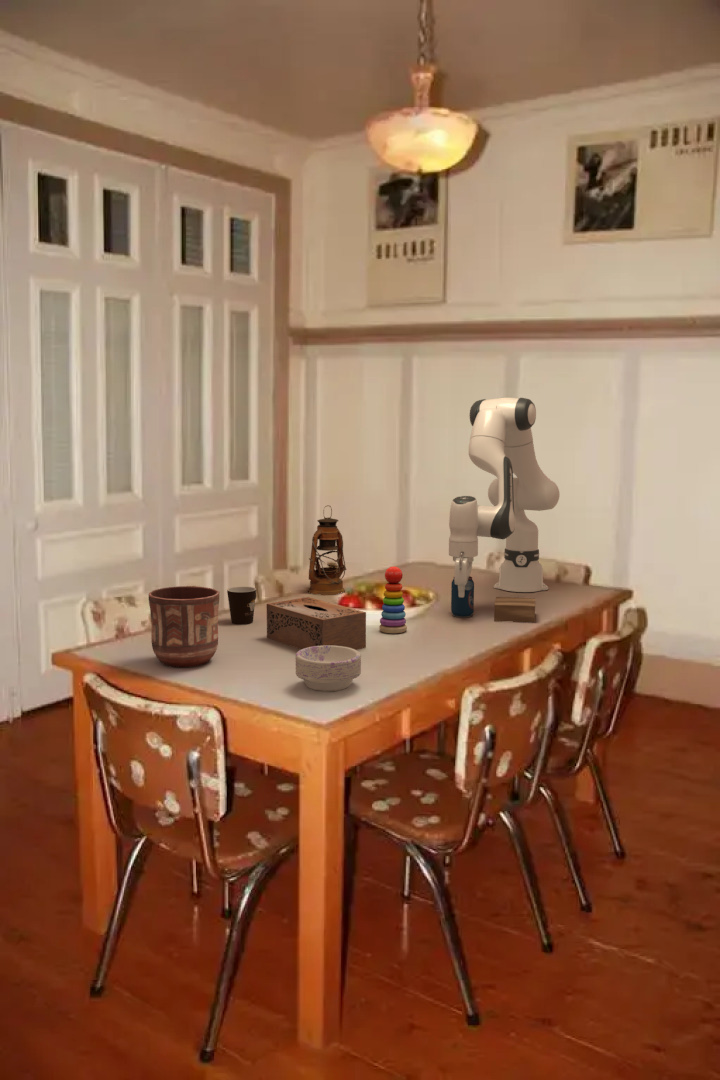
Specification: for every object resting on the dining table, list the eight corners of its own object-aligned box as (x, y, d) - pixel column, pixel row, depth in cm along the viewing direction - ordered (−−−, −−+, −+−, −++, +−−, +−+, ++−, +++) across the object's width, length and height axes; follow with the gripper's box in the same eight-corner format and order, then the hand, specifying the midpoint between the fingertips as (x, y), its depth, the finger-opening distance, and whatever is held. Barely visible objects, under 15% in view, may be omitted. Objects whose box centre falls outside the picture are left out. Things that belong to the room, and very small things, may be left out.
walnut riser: (495, 612, 305) (496, 596, 304) (534, 614, 303) (535, 598, 302) (494, 621, 293) (494, 604, 292) (534, 622, 291) (535, 606, 290)
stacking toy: (411, 633, 278) (412, 568, 276) (385, 635, 275) (386, 570, 273) (400, 627, 286) (400, 563, 283) (375, 629, 283) (375, 565, 280)
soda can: (474, 618, 297) (475, 579, 296) (452, 618, 297) (452, 579, 296) (472, 613, 304) (472, 575, 302) (449, 613, 304) (450, 575, 302)
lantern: (330, 585, 349) (330, 502, 344) (356, 590, 340) (356, 504, 335) (295, 592, 336) (294, 505, 332) (322, 597, 328) (321, 508, 323)
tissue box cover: (266, 638, 273) (266, 603, 271) (308, 631, 282) (308, 597, 280) (323, 657, 253) (323, 619, 252) (365, 648, 262) (365, 612, 261)
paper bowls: (346, 698, 218) (346, 664, 216) (284, 691, 223) (284, 657, 222) (370, 680, 232) (370, 648, 230) (312, 674, 237) (311, 642, 236)
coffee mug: (237, 626, 285) (237, 593, 284) (222, 621, 292) (221, 589, 291) (270, 621, 293) (270, 588, 291) (254, 616, 299) (254, 584, 298)
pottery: (152, 673, 237) (151, 601, 235) (147, 655, 254) (145, 587, 251) (225, 668, 242) (224, 597, 240) (215, 651, 259) (214, 584, 256)
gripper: (471, 555, 287) (470, 601, 289) (475, 545, 307) (475, 588, 309) (449, 554, 288) (449, 600, 290) (455, 544, 308) (455, 587, 310)
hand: (462, 594), depth 300 cm, fingers closed on soda can, 7 cm apart
